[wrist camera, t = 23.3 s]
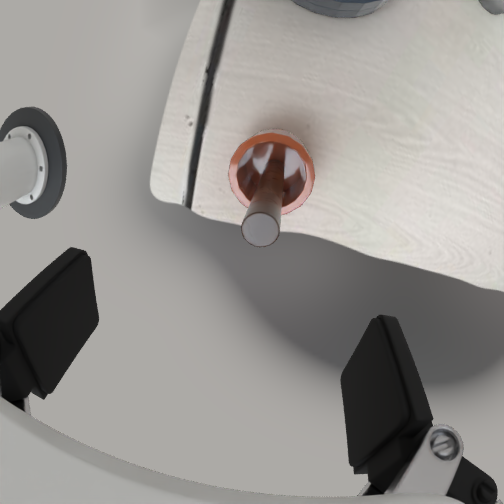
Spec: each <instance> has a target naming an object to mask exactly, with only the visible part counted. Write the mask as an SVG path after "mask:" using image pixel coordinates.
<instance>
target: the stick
mask: <svg viewBox="0 0 504 504" xmlns="http://www.w3.org/2000/svg"><path fill="white" fill-rule="evenodd" d="M284 171H285V168H284V165H283V163H282V162H281V161H279V160H270V161H269V162H268V163H267V164H266V166H265V168H264V171H263V173H262V176H261V178H260V181H259V183H258V185H257V188H256V190H255V193H254V195H253V198H252V200H251V203H250V205H249V208H248V210H247V212H246V215H245V217H244V220H243V222H242V226H241V231H242V235H243V237H244V238H245V240H246V241H247V242H248V243H250V244H251V245H254V246H256V247H266V246H269V245H271V244H273V243H274V242H275V241H276V240H277V238H278V236H279V233H280V221H281V209H282V197H283V184H284Z"/></svg>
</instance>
